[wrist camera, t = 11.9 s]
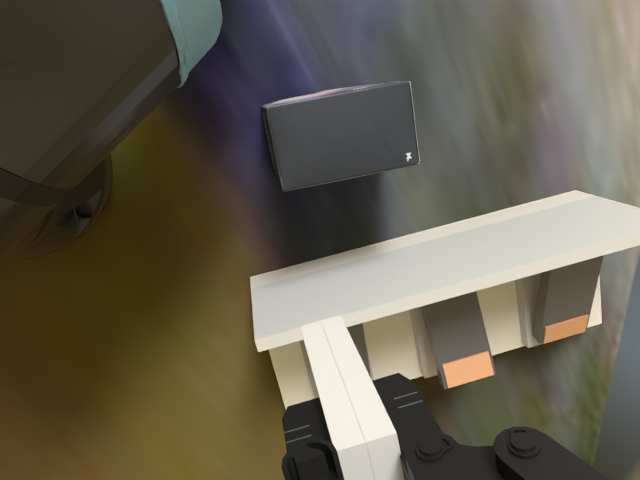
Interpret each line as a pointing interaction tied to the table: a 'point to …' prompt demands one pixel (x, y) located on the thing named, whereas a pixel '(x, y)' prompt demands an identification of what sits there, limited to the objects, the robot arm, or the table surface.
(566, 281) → the switch
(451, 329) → the switch
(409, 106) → the small box
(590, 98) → the table surface
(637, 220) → the switch unit
